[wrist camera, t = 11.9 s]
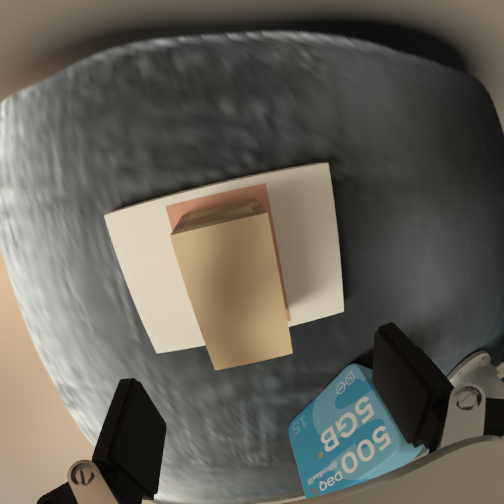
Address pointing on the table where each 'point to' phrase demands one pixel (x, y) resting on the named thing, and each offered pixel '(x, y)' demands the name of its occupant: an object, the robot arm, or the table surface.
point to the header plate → (284, 238)
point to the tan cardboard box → (233, 282)
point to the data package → (347, 435)
